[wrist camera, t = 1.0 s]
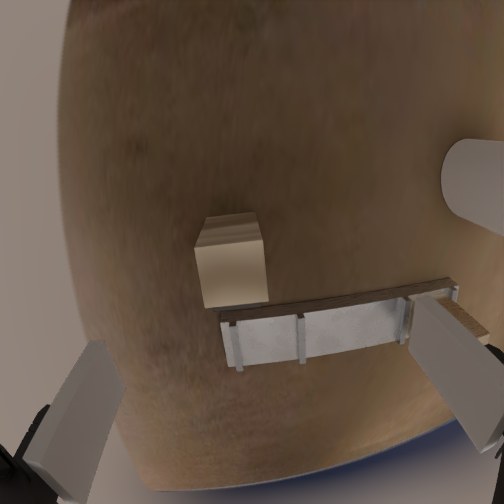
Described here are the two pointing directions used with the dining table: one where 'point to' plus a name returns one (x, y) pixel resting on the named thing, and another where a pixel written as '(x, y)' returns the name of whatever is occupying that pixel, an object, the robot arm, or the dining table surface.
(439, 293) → the rail
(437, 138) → the dining table surface
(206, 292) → the block
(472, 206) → the cup
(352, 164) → the dining table surface
